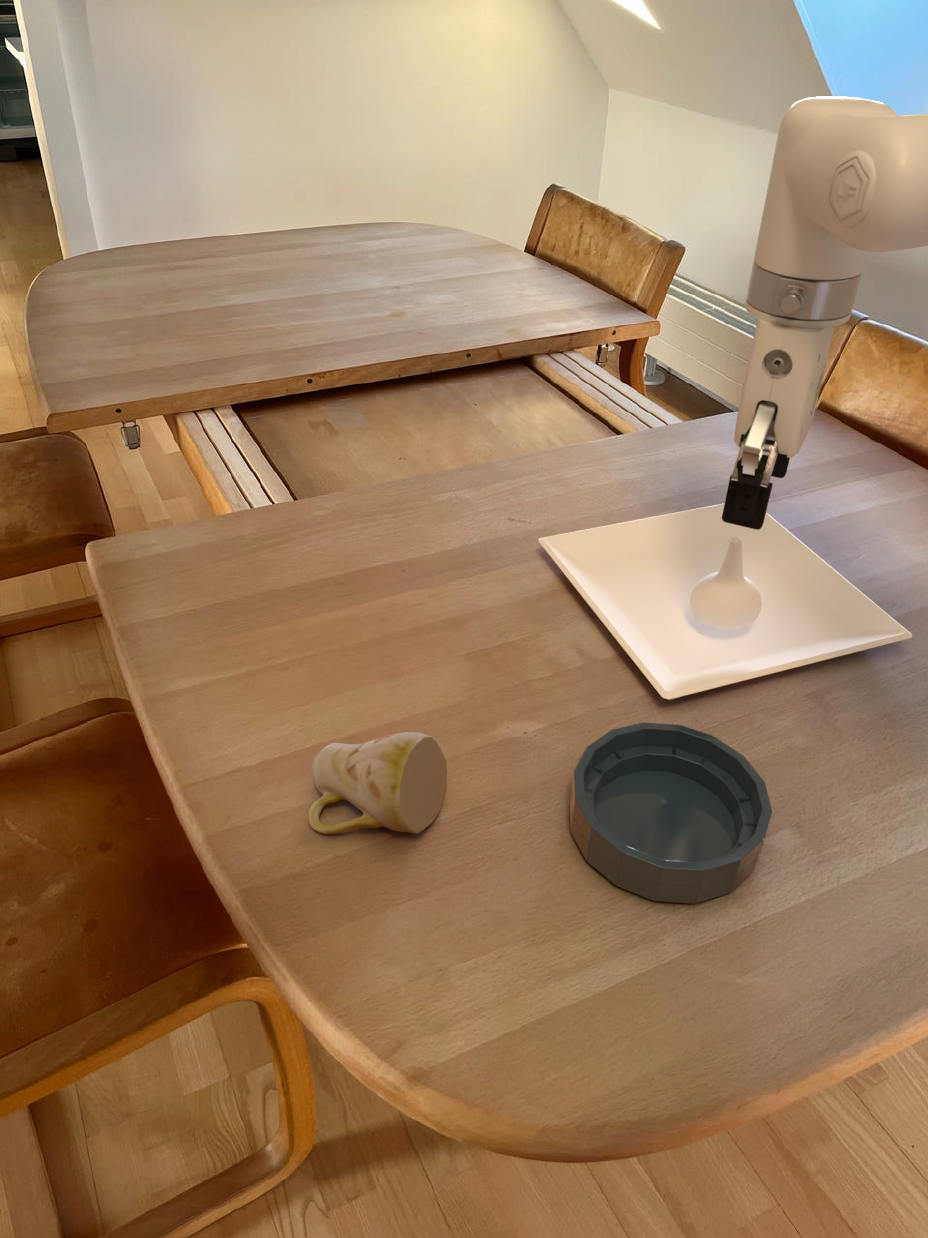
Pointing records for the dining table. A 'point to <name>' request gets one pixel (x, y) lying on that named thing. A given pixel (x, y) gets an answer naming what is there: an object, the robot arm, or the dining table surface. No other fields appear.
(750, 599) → the garlic bulb
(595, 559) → the plate
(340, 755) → the mug
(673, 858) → the bowl
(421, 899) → the dining table surface
